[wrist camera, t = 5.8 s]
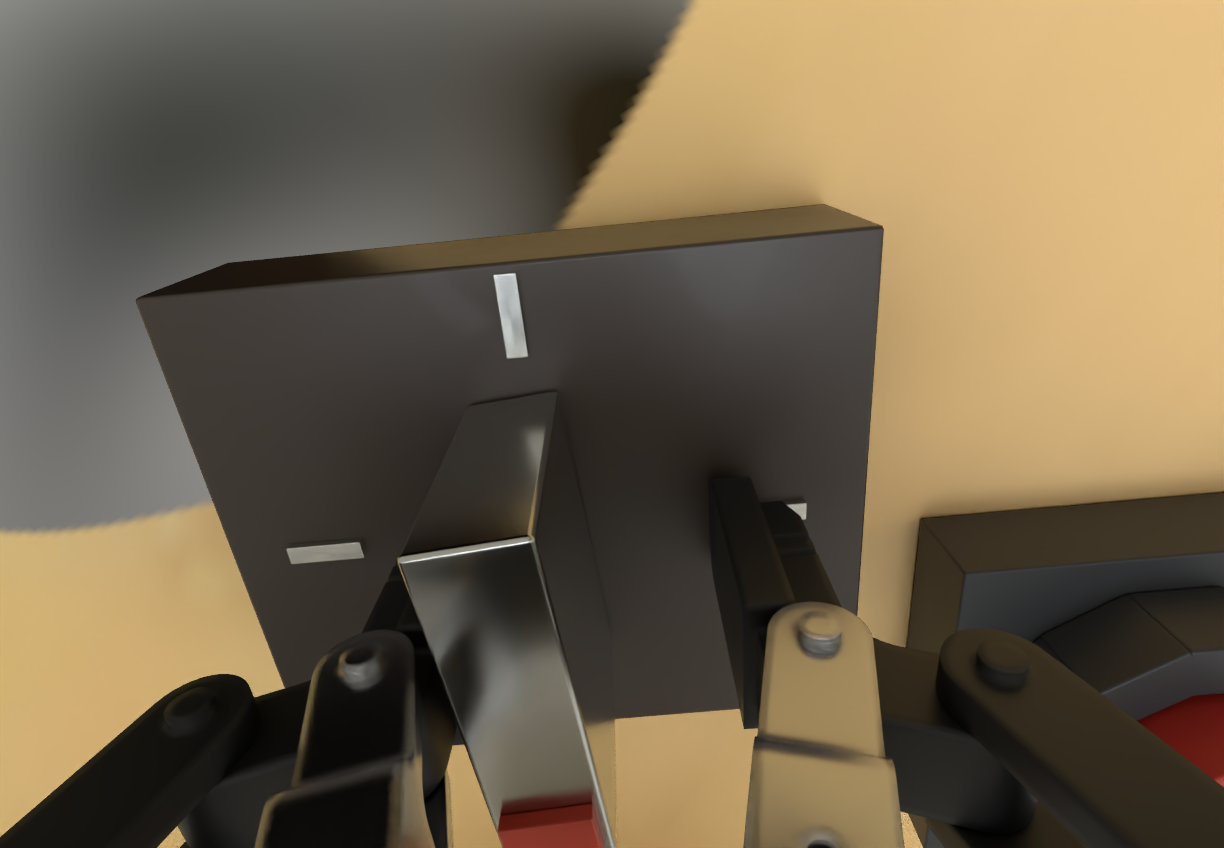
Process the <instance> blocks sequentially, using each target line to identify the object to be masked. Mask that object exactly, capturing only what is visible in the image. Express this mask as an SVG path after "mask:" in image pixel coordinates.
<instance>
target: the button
mask: <svg viewBox="0 0 1224 848" xmlns="http://www.w3.org/2000/svg"><path fill="white" fill-rule="evenodd" d="M1137 721H1138V722H1139V723H1140V724H1142V725H1143V726H1144V727H1145V728H1147V729H1148V730H1149V731H1151V732H1152V733H1153V734H1155V735H1156V736H1157V737H1159V738H1160V739H1161V740H1163V741H1164V742H1165V743H1167V744H1168V745H1169V746H1170V747H1172V748H1173V749H1174V750H1176V751H1177V752H1178V753H1180V754H1181V755H1182V756H1184V757H1185V758H1186V759H1188V760H1189V761H1190V762H1191V763H1193V764H1194V765H1195V766H1197V767H1198V768H1199V769H1201V770H1202V771H1203V772H1205V773H1206V774H1207V775H1209V776H1210V777H1211V778H1213V779H1214V780H1215V781H1216V782H1218V783H1219V784H1220V785H1222V786H1223V787H1224V693H1222V694H1210V695H1197V696H1192V697H1189V698H1187V699H1185V700H1182V701H1180V702H1178V703H1176V704H1173V705H1171V706H1169V707H1167V708H1164V709H1162V710H1160V711H1157V712H1155V713H1153V714H1151V715H1148V716H1146V717H1144V718H1142V719H1139V720H1137Z"/></svg>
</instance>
